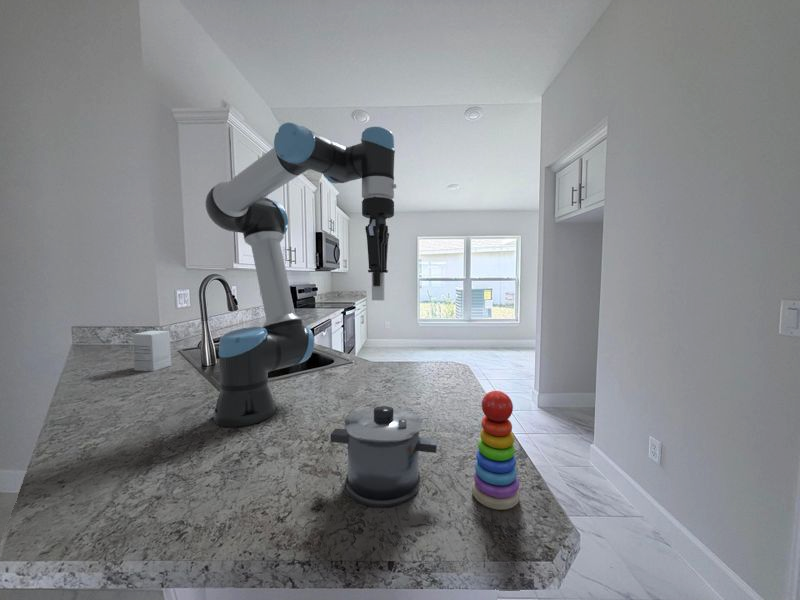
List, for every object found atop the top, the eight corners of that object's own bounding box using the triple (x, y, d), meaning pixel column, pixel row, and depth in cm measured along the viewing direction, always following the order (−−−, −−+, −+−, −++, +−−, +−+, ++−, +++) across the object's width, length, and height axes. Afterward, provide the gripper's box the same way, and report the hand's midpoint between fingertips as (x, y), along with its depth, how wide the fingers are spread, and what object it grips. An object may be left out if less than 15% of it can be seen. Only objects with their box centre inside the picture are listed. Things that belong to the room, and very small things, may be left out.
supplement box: (153, 364, 139) (151, 330, 138) (172, 365, 138) (170, 330, 137) (133, 370, 130) (131, 333, 129) (152, 371, 129) (151, 334, 128)
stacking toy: (466, 482, 60) (468, 383, 59) (507, 480, 61) (510, 382, 59) (480, 514, 52) (482, 400, 51) (528, 511, 53) (531, 398, 52)
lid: (332, 441, 54) (332, 419, 54) (360, 411, 69) (360, 394, 69) (415, 450, 51) (416, 427, 51) (426, 417, 66) (426, 399, 66)
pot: (318, 499, 55) (317, 442, 55) (346, 456, 69) (345, 410, 68) (432, 515, 52) (433, 455, 51) (439, 466, 65) (439, 418, 64)
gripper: (387, 191, 69) (387, 302, 71) (399, 205, 82) (398, 298, 83) (353, 193, 70) (354, 301, 72) (370, 206, 83) (370, 298, 85)
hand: (378, 300), depth 78 cm, fingers closed
